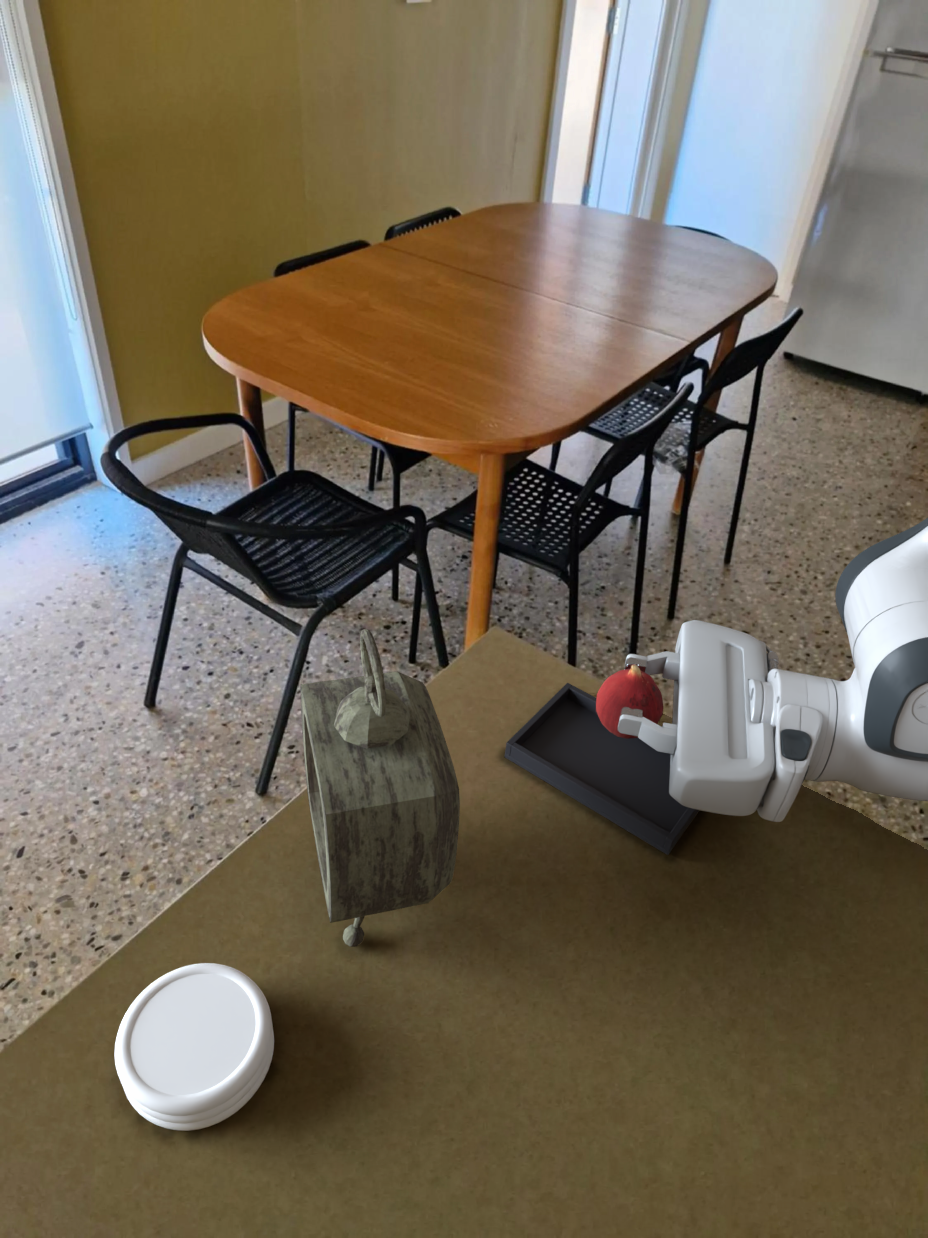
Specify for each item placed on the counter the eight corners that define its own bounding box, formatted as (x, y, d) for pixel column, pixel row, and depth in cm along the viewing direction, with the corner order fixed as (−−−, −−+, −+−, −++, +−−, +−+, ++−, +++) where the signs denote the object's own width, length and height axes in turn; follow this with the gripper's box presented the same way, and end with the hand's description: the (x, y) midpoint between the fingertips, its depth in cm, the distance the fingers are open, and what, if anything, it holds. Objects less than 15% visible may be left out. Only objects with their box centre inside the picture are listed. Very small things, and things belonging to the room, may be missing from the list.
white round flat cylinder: (304, 1039, 62) (302, 1014, 60) (195, 1168, 55) (188, 1146, 53) (203, 960, 66) (197, 933, 64) (90, 1071, 59) (79, 1047, 57)
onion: (663, 727, 81) (682, 662, 76) (640, 767, 77) (658, 701, 72) (605, 702, 83) (620, 637, 78) (579, 739, 79) (593, 674, 74)
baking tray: (720, 781, 83) (725, 766, 82) (667, 855, 76) (672, 841, 75) (564, 696, 90) (567, 682, 89) (504, 757, 83) (506, 742, 82)
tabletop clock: (308, 816, 77) (292, 586, 61) (410, 799, 79) (421, 572, 63) (334, 970, 66) (324, 738, 50) (451, 945, 68) (477, 716, 52)
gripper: (786, 619, 82) (636, 593, 83) (805, 787, 66) (619, 750, 68) (767, 670, 86) (624, 643, 87) (780, 839, 70) (606, 803, 72)
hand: (622, 691), depth 77 cm, fingers closed on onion, 5 cm apart
